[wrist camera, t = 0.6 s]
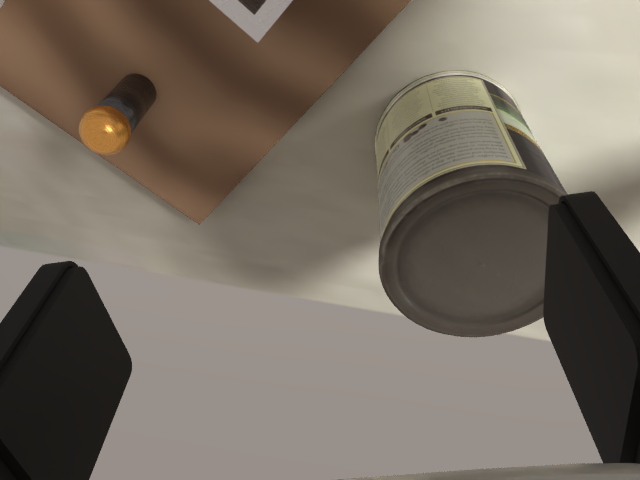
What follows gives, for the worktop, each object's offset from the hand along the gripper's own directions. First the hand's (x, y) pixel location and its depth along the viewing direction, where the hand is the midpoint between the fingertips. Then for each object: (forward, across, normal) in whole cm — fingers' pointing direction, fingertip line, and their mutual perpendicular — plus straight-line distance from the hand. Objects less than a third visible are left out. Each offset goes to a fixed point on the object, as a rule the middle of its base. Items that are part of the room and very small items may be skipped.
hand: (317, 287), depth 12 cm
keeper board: (+28, +9, 0) cm, 30 cm away
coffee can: (+28, -6, +11) cm, 31 cm away
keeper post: (+27, +14, +4) cm, 31 cm away
